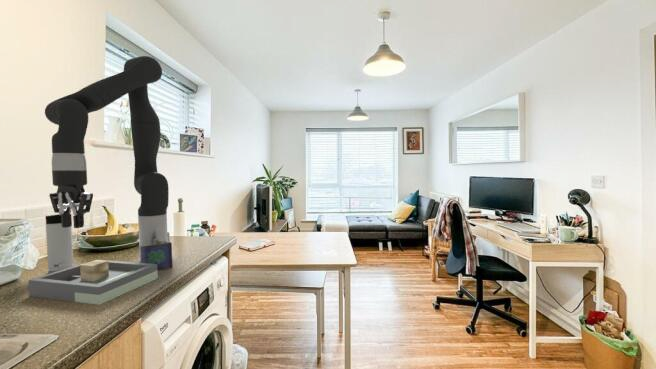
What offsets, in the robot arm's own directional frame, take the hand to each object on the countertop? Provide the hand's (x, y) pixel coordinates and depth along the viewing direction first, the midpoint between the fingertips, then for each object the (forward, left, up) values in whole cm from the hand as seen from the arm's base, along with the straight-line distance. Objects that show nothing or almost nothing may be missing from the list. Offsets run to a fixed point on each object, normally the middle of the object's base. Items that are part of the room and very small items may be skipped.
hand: (72, 227), depth 84 cm
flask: (-16, +13, -18) cm, 27 cm away
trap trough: (0, +8, -17) cm, 19 cm away
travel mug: (-8, -18, -17) cm, 26 cm away
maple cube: (0, +7, -15) cm, 17 cm away
